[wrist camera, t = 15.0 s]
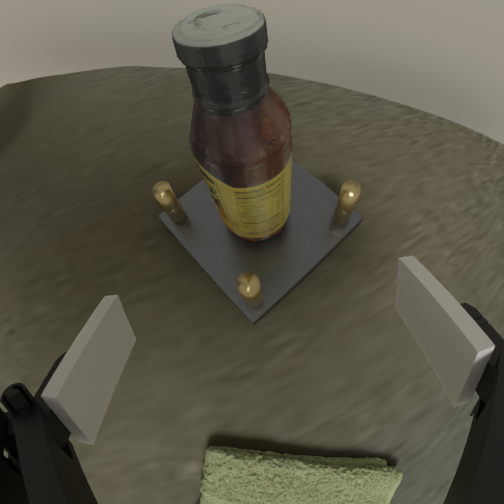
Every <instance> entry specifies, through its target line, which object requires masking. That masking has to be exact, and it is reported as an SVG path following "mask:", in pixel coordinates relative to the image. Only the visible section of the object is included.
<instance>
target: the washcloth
mask: <svg viewBox="0 0 504 504" xmlns="http://www.w3.org/2000/svg"><path fill="white" fill-rule="evenodd" d="M205 451H206V453H205V463H204V465H203V469H202V471H203V475H204V477H203V478H202V480H201V483H200V491H201V493H202V495H201V498H200V503H199V504H389V503H390V500H391V498H392V496H393V494H394V492H395V490H396V488H397V486H398V485H399V483H400V482H401V480H402V476H403V472H402V471H401V470H398V469H397V466H395V467H393V466H389V467H388V466H387V463H386V460H385V459H379V458H378V457H376V458H368V457H366V458H350V457H339V458H336V457H334V458H330V457H328V458H324V457H322V456H308V455H297V456H296V455H293V454H288V453H284V454H280V453H275V452H273V451H266V452H262V451H259V450H257V451H255V450H252V449H249V450H248V449H237V448H233V447H231V446H228V447H227V446H221V447H217V446H211V445H210V447H208V448H207V450H205Z"/></svg>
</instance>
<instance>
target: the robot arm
mask: <svg viewBox="0 0 504 504" xmlns="http://www.w3.org/2000/svg"><path fill="white" fill-rule="evenodd" d="M394 308H395V310H396V311H397V313H398V314H399V316H400V317H401V319H402V320H403V322H404V324H405V325H406V327H407V328H408V330H409V332H410V333H411V335H412V336H413V338H414V340H415V341H416V343H417V344H418V346H419V348H420V349H421V351H422V353H423V354H424V356H425V358H426V359H427V361H428V363H429V364H430V366H431V368H432V370H433V371H434V373H435V375H436V376H437V378H438V380H439V382H440V383H441V385H442V387H443V389H444V391H445V392H446V394H447V396H448V398H449V400H450V402H451V403H452V405H453V407H454V408H455V407H457V406H460V405H462V404H465V403H467V402H469V401H471V399H472V397H473V395H474V393H475V391H476V392H477V393H478V395H479V397H480V398H479V400H478V401H477V403H476V405H475V407H474V409H473V411H472V412H471V414H470V416H473V414H474V417H473V421H472V424H471V428H470V432H469V435H468V438H467V442H466V445H465V448H464V451H463V454H462V457H461V460H460V463H459V466H458V469H457V471H456V474H455V477H454V479H453V482H452V484H451V487H450V489H449V491H448V494H447V496H446V498H445V501H444V503H443V504H504V340H503V339H502V337H501V336H500V335H499V334H498V333H497V332H496V330H495V329H494V328H493V327H492V326H491V325H490V324H488V321H487V320H486V319H485V318H483V316H482V315H481V314H480V312H479V311H478V310H477V309H476V308H474V307H472V306H471V305H469V304H467V303H463V304H459V303H458V302H457V301H456V299H455V298H454V297H453V296H452V295H451V294H450V293H449V292H448V291H447V290H446V289H445V288H444V287H443V286H442V284H441V283H440V282H439V281H438V280H437V279H436V278H435V277H434V276H433V275H432V274H431V273H430V272H429V271H428V270H427V269H426V268H425V267H424V266H423V265H422V264H421V263H420V262H419V261H418V260H417V259H416V258H415V257H414V256H406V257H400V258H399V260H398V274H397V286H396V296H395V305H394ZM135 342H136V338H135V336H134V333H133V331H132V329H131V326H130V324H129V321H128V319H127V317H126V314H125V312H124V309H123V307H122V304H121V302H120V299H119V296H118V295H110V296H104V298H103V299H102V301H101V302H100V303H99V305H98V306H97V308H96V309H95V311H94V312H93V314H92V315H91V316H90V318H89V319H88V321H87V322H86V324H85V325H84V327H83V328H82V330H81V331H80V333H79V334H78V336H77V337H76V339H75V340H74V342H73V344H72V345H71V347H70V348H69V350H68V351H67V352H65V353H64V354H63V355H61V356H60V357H59V358H58V359H57V360H56V362H55V363H54V365H53V366H52V368H51V369H52V370H50V371H49V373H48V374H47V375H48V376H47V377H46V378H45V379H44V381H43V383H42V384H41V386H40V388H39V389H38V391H37V393H36V394H35V396H34V397H33V396H32V395H31V393H30V392H29V391H28V389H27V388H26V387H25V385H23V384H22V383H15V384H12V385H11V386H9V387H8V388H7V389H6V390H5V391H4V392H3V393H2V395H1V399H0V402H1V403H2V404H3V405H4V407H5V408H6V409H7V410H8V412H3V410H2V409H1V408H0V504H98V503H97V501H96V499H95V497H94V494H93V492H92V490H91V488H90V486H89V484H88V482H87V479H86V477H85V475H84V473H83V470H82V468H81V465H80V463H79V461H78V458H77V456H76V453H75V450H74V448H73V445H72V443H71V442H70V441H69V440H68V439H69V436H70V434H72V435H73V436H74V437H75V438H76V440H77V441H78V442H82V443H88V444H93V445H94V442H95V440H96V437H97V434H98V432H99V429H100V426H101V424H102V421H103V418H104V416H105V413H106V411H107V408H108V406H109V403H110V401H111V398H112V396H113V393H114V391H115V388H116V386H117V383H118V381H119V379H120V376H121V374H122V372H123V369H124V367H125V364H126V362H127V360H128V357H129V355H130V353H131V351H132V348H133V346H134V344H135ZM474 412H475V413H474ZM4 450H5V451H6V452H7V453H8V459H7V458H6V457H5V456H4V454H3V453H4Z"/></svg>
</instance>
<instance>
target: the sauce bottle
mask: <svg viewBox="0 0 504 504" xmlns="http://www.w3.org/2000/svg"><path fill="white" fill-rule="evenodd" d="M172 38H173V43H174V46H175V49H176V53H177V57H178V58H179V60H180V61H181V62H182V63H183V64H184V65H185V66H186V69H187V74H188V76H189V79H190V81H191V85H192V87H193V89H192V93H193V97H194V106H193V114H192V122H191V130H190V136H189V143H190V148H191V150H192V153H193V155H194V158H195V160H196V162H197V164H198V166H199V168H200V171H201V173H202V175H203V178H204V180H205V182H206V184H207V186H208V189H209V191H210V193H211V196H212V198H213V200H214V202H215V204H216V207H217V209H218V211H219V213H220V215H221V218H222V220H223V222H224V223H225V225H226V226H227V227H228V228H229V230H230V231H231V232H233V233H235V234H236V235H237V236H239V237H241V238H243V239H246V240H249V241H260V240H265V239H268V238H270V237H272V236H274V235H276V234H278V233H279V232H280V231H281V230H282V228H283V226H284V225H285V223H286V220H287V218H288V215H289V212H290V200H291V176H292V140H291V136H290V133H291V120H290V113H289V111H288V108H287V107H286V105H285V103H284V102H283V100H282V99H281V97H280V96H279V95H278V94H277V93H276V92H274V91H273V90H272V89H271V87H270V86H269V77H268V74H267V73H266V63H265V52H264V51H265V50H266V48H267V43H268V38H267V27H266V21H265V17H264V15H263V13H262V12H261V11H259V10H258V9H256V8H253V7H249V6H246V5H240V4H223V5H216V6H211V7H208V8H204V9H201V10H199V11H197V12H194V13H192V14H190V15H189V16H188V17H186V18H184V19H183V20H181V21H180V22H179V23H178V24H177V25H176V26H175V27H174V29H173V31H172Z"/></svg>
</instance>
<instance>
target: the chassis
mask: <svg viewBox="0 0 504 504" xmlns="http://www.w3.org/2000/svg"><path fill="white" fill-rule="evenodd" d="M152 193H153V195H154V197H155V198H156V199H157V201H158V202H159V204H160V205H161V207H162V208H163V209H164V211H163V212H162V213H161V214H160V215H159V218H160V219H161V220H162V222H163V223H164V224H165V225H166V226H167V228H168V229H169V230H170V231H171V232H172V234H173V235H174V236H175V237H176V238H177V239H178V241H179V242H180V243H181V244H182V245H183V246H184V248H185V249H186V250H187V251H188V252H189V253H190V255H191V256H192V257H193V258H194V259H195V260H196V261H197V263H198V264H199V265H200V266H201V267H202V268H203V269H204V271H205V272H206V273H207V274H208V275H209V276H210V277H211V278H212V280H213V281H214V282H215V283H216V284H217V285H218V286H219V287H220V289H221V290H222V291H223V292H224V293H225V294H226V295H227V296H228V297H229V299H230V300H231V301H232V302H233V303H234V304H235V305H236V306H237V307H238V308H239V310H240V311H241V312H242V313H243V314H244V315H245V316H246V317H247V318H248V319H249V320H250V321H251V323H252V324H253V325H255V324H256V323H257V322H258V321H259V320H261V319H262V318H263V317H264V316H265V315H266V314H267V313H268V312H269V311H270V310H272V309H273V308H274V307H275V306H276V305H277V304H278V303H279V302H280V301H281V300H282V299H283V298H285V297H286V296H287V295H288V294H289V293H290V292H291V291H292V290H293V289H294V288H295V287H296V286H297V285H298V284H299V283H300V282H302V281H303V280H304V279H305V278H306V277H307V276H308V275H309V274H310V273H311V272H312V271H313V270H314V269H315V268H316V267H317V266H318V265H319V264H320V263H321V262H322V261H323V260H324V259H325V258H326V257H327V256H328V255H330V254H331V253H332V252H333V251H334V250H335V249H336V248H337V247H338V246H339V245H340V244H341V243H342V242H343V241H344V240H345V239H346V238H347V237H348V236H349V235H350V234H351V233H352V232H353V231H354V230H355V229H356V228H357V227H358V226H359V225H360V223H361V221H362V219H363V217H362V216H360V215H359V214H358V213H357V212H356V211H355V210H354V208H355V206H356V203H357V201H358V198H359V196H360V194H361V187H360V185H359V184H358V183H357V182H355V181H351V180H349V181H346V182H344V183H343V185H342V188H341V191H340V194H339V196H338V195H336V194H335V193H334V192H333V191H332V190H331V189H329V188H328V187H327V186H326V185H325V184H323V183H322V182H321V181H320V180H319V179H317V178H316V177H315V176H314V175H312V174H311V173H310V172H309V171H307V170H306V169H305V168H304V167H302V166H301V165H300V164H299V163H297V162H296V161H295V160H294V159H292V176H291V200H290V212H289V215H288V218H287V220H286V223H285V225H284V226H283V228H282V230H281V231H280V232H279V233H278V234H276V235H274V236H272V237H270V238H268V239H265V240H260V241H249V240H246V239H243V238H241V237H239V236H237V235H236V234H235V233H233V232H231V231H230V230H229V228H228V227H227V226H226V225H225V223H224V222H223V220H222V218H221V215H220V213H219V211H218V209H217V207H216V204H215V202H214V200H213V198H212V196H211V193H210V191H209V189H208V186H207V184H206V182H205V180H204V179H203V180H201V181H200V182H199V183H198V184H196V185H195V186H194V187H193V188H191V189H190V190H189V191H188V192H186V193H185V194H184V195H183V196H181V197H180V198H179V199H177V197H176V195H175V194H174V192H173V190H172V188H171V187H170V185H169V183H168V182H166V181H160V182H158V183H156V184H155V185H154V187H153V189H152Z"/></svg>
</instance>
